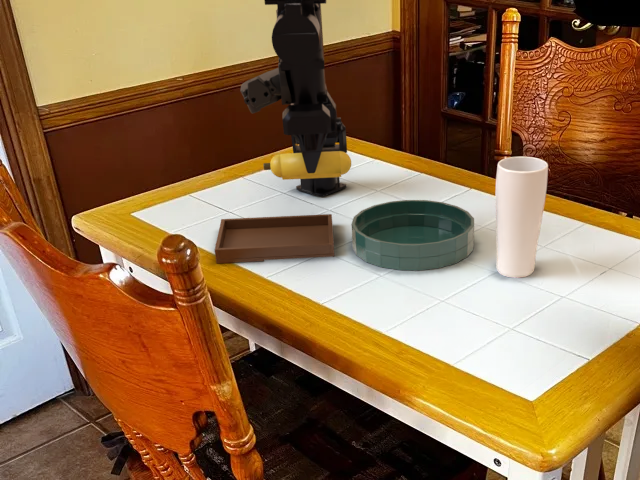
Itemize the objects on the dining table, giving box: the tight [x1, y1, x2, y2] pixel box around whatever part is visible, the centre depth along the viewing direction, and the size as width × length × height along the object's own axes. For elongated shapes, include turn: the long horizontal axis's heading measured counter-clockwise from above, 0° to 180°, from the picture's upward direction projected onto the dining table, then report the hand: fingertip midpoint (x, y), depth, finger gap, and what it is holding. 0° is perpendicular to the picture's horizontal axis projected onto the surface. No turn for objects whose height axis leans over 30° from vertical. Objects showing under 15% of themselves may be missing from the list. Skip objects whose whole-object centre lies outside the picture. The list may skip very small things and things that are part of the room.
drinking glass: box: [494, 155, 549, 279], centre depth 115 cm, size 7×7×15 cm
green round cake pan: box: [350, 199, 475, 271], centre depth 125 cm, size 18×18×4 cm
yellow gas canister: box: [263, 151, 352, 181], centre depth 120 cm, size 12×3×3 cm, turn 96°
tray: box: [214, 213, 335, 264], centre depth 127 cm, size 17×12×2 cm
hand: (311, 168), depth 121 cm, fingers closed on yellow gas canister, 3 cm apart
